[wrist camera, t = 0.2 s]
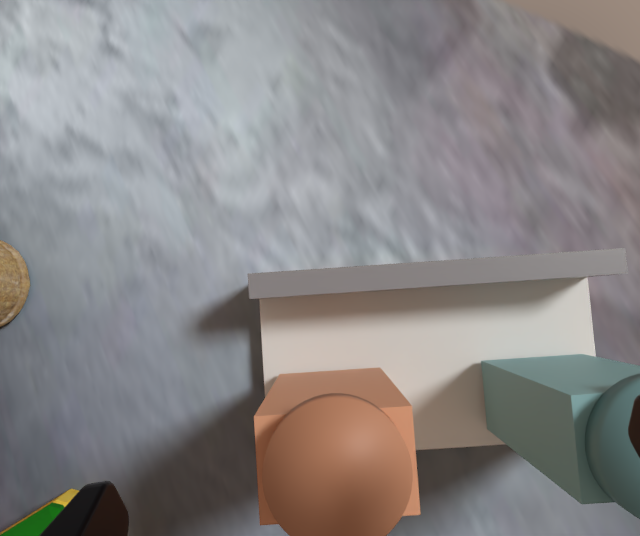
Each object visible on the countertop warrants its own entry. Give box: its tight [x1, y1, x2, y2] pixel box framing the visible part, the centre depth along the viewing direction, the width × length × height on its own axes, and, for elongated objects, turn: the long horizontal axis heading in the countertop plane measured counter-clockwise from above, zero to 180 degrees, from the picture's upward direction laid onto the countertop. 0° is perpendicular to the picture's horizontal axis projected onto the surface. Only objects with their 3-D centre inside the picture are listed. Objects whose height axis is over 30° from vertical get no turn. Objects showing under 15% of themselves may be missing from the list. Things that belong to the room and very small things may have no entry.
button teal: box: [481, 354, 640, 519], centre depth 17 cm, size 4×4×9 cm
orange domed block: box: [254, 367, 421, 536], centre depth 17 cm, size 4×4×9 cm
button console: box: [248, 248, 628, 450], centre depth 21 cm, size 8×15×4 cm, turn 94°
